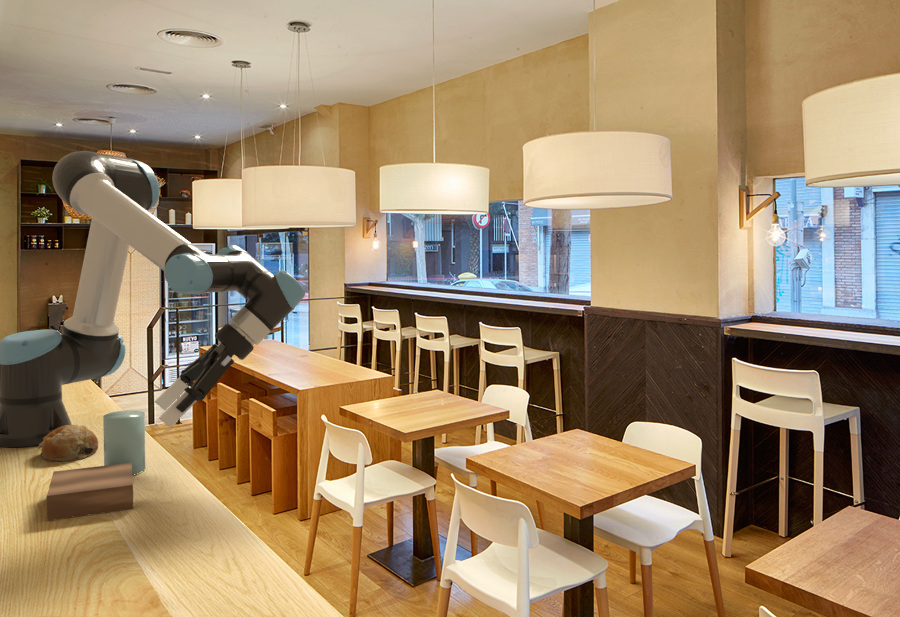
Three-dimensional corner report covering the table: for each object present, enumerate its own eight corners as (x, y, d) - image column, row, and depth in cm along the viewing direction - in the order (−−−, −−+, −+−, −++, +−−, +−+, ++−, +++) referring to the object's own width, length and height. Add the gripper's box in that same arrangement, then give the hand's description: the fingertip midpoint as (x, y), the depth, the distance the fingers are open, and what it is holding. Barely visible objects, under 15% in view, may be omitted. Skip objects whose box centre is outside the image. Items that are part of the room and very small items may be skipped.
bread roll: (62, 481, 125) (77, 447, 123) (22, 455, 126) (36, 421, 125) (100, 465, 134) (113, 433, 133) (62, 441, 136) (75, 409, 134)
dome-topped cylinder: (104, 467, 123) (103, 412, 122) (144, 463, 126) (143, 409, 125) (103, 479, 116) (102, 421, 115) (146, 474, 120) (145, 417, 119)
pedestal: (54, 494, 109) (53, 471, 109) (131, 484, 115) (131, 462, 114) (47, 520, 98) (46, 496, 98) (133, 508, 104) (133, 484, 104)
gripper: (268, 356, 119) (183, 443, 113) (244, 338, 141) (171, 411, 135) (239, 329, 116) (150, 417, 110) (218, 315, 138) (143, 388, 132)
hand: (161, 414), depth 122 cm, fingers open, 13 cm apart
